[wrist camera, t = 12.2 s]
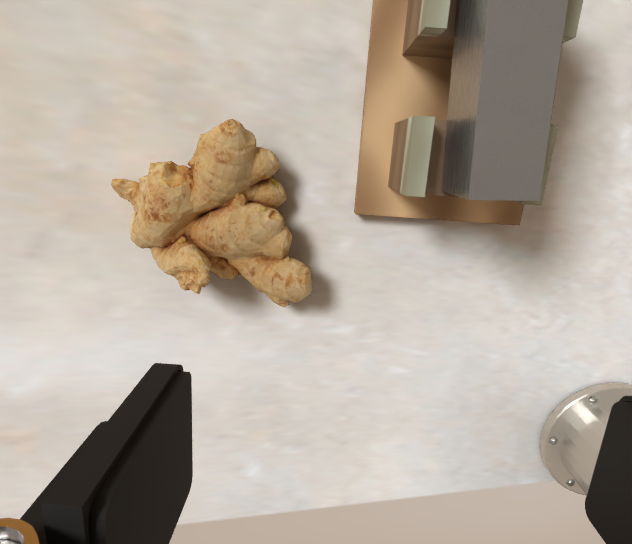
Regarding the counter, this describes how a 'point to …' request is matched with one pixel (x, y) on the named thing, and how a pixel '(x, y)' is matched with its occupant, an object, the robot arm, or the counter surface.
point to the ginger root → (218, 217)
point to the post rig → (420, 116)
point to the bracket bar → (501, 97)
